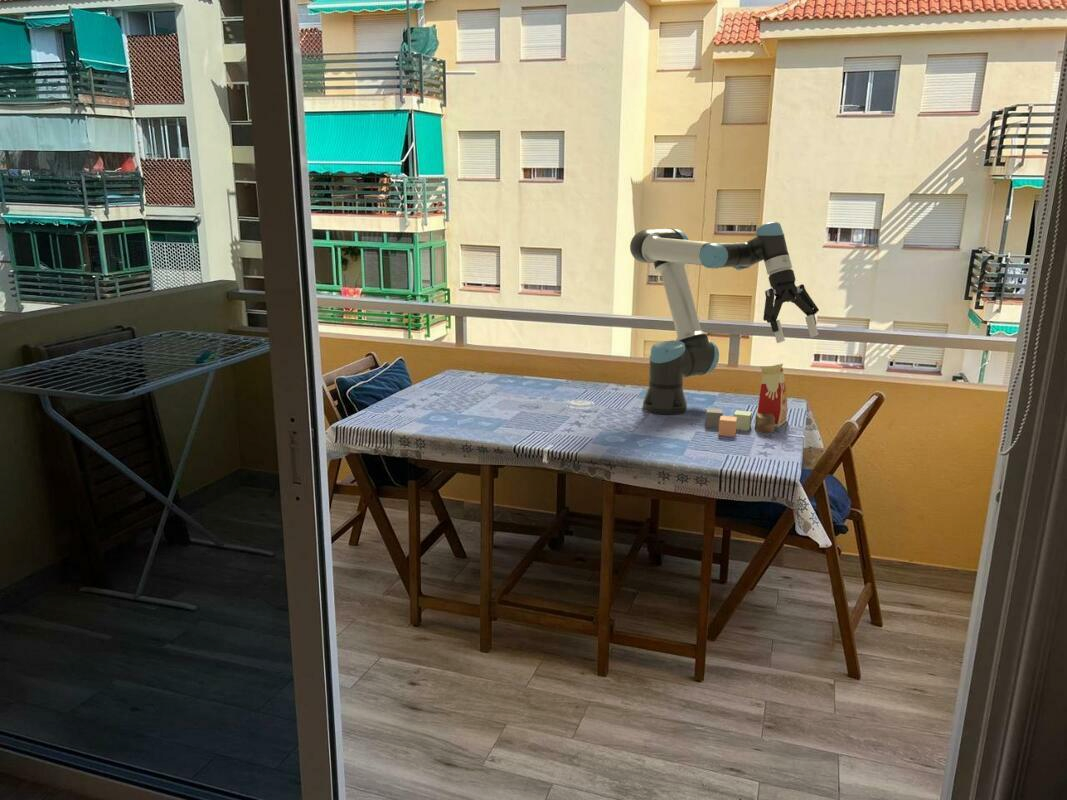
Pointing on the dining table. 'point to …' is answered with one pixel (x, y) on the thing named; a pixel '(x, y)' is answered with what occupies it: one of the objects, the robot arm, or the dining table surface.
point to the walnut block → (765, 423)
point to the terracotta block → (727, 426)
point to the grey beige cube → (713, 417)
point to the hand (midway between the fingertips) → (797, 339)
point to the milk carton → (773, 393)
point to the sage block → (743, 419)
